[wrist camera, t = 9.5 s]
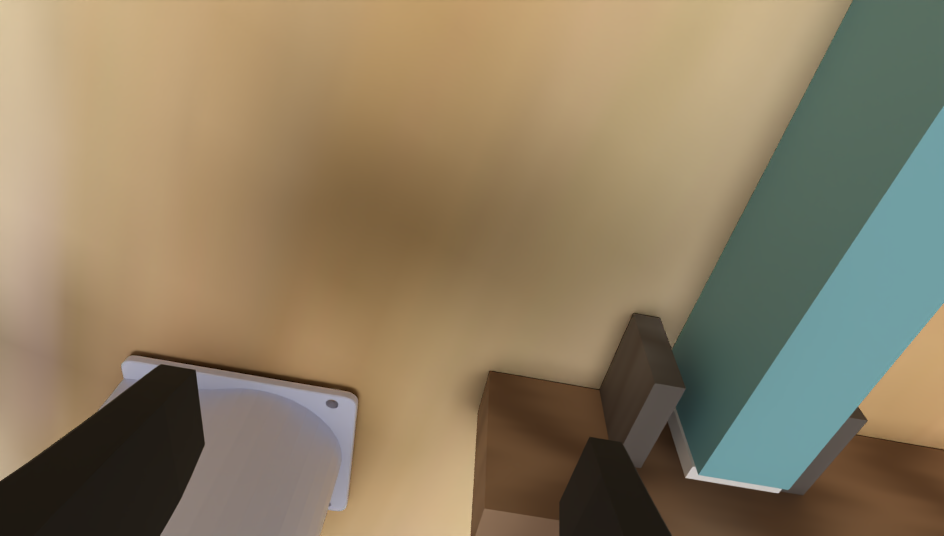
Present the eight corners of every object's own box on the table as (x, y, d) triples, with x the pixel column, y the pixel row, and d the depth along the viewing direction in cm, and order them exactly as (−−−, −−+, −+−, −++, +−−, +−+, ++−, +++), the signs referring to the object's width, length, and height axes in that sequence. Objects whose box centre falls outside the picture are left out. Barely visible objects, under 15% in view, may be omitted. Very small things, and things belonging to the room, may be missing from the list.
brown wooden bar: (477, 413, 23) (469, 551, 18) (512, 291, 20) (513, 422, 15) (921, 488, 25) (1027, 638, 20) (1029, 385, 21) (1192, 537, 16)
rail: (653, 375, 22) (687, 485, 18) (863, -36, 14) (1013, -9, 10) (730, 389, 22) (782, 501, 18) (980, -9, 14) (1177, 27, 10)
